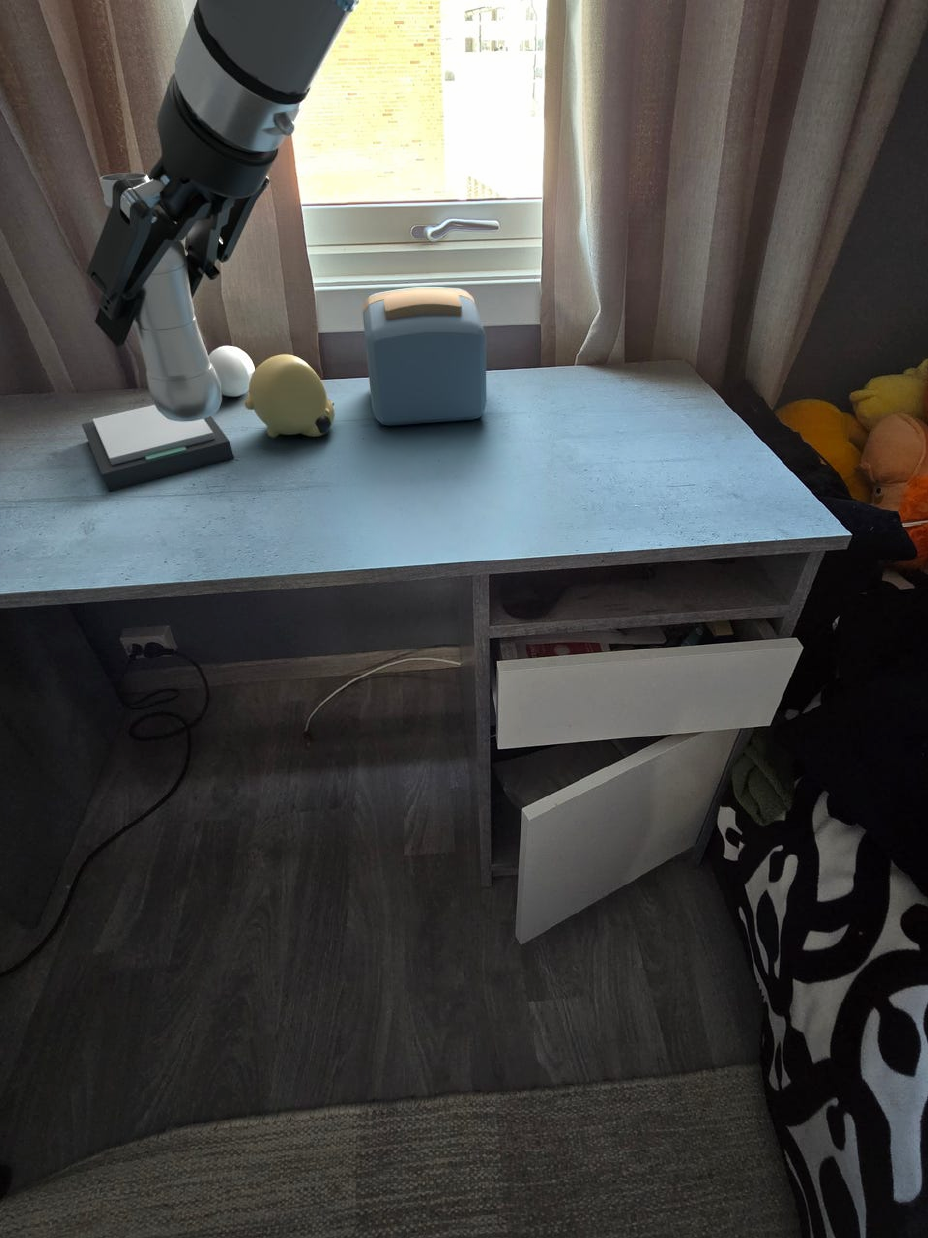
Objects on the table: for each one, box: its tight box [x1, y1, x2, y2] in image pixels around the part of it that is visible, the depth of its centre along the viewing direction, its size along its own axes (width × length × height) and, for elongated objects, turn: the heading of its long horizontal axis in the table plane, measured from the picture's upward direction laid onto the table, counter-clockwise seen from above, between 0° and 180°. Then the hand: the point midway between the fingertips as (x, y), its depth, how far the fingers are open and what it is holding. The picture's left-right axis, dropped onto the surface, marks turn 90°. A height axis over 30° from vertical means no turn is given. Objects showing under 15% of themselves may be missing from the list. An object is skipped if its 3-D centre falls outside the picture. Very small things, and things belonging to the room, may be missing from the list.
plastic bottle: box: [99, 172, 223, 422], centre depth 61 cm, size 6×7×20 cm
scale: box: [81, 404, 235, 492], centre depth 93 cm, size 16×16×4 cm
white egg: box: [208, 345, 257, 398], centre depth 106 cm, size 10×7×7 cm
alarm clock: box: [362, 286, 488, 427], centre depth 99 cm, size 16×16×16 cm
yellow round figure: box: [244, 353, 336, 438], centre depth 95 cm, size 10×12×11 cm
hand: (139, 321), depth 63 cm, fingers closed on plastic bottle, 6 cm apart
